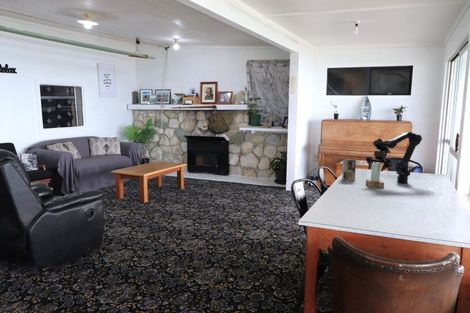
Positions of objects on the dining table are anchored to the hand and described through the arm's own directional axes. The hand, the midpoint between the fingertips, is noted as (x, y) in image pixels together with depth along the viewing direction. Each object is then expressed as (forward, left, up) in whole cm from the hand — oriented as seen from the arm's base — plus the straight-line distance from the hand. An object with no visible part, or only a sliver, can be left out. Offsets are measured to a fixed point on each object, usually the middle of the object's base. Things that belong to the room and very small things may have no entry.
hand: (374, 170), depth 267 cm
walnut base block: (-1, -1, -12) cm, 12 cm away
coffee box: (+13, -23, -12) cm, 29 cm away
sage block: (-1, -1, -8) cm, 8 cm away
